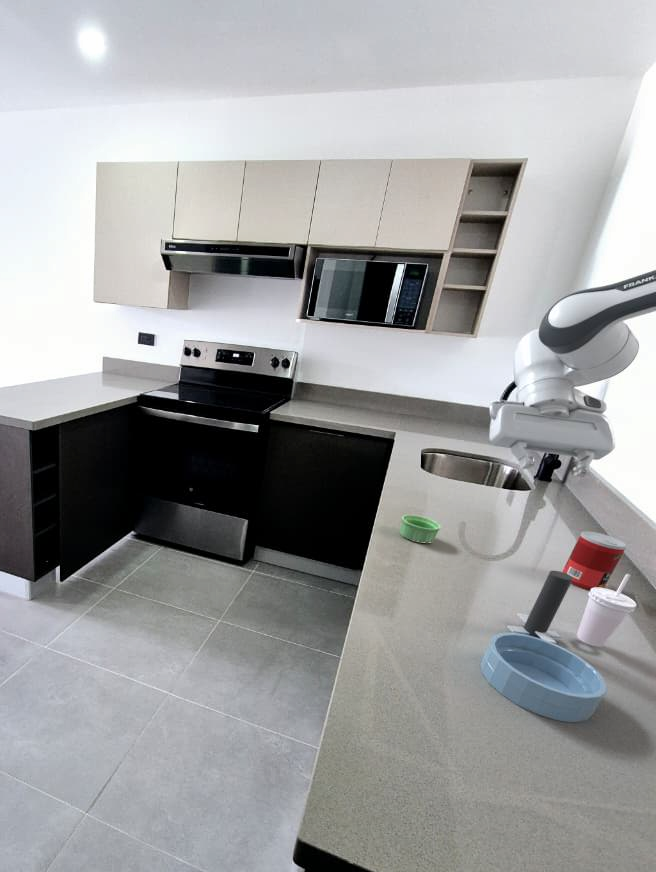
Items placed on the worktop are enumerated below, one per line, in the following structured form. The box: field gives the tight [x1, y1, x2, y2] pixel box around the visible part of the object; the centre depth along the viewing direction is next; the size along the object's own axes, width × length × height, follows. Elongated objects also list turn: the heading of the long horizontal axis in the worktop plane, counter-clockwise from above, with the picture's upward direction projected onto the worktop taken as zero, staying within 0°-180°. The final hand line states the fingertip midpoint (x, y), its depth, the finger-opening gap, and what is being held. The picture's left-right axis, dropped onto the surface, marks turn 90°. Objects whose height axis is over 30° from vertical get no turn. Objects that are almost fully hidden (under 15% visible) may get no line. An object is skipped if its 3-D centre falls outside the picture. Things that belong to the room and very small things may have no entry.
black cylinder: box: [506, 570, 573, 645], centre depth 85 cm, size 8×8×13 cm
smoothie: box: [576, 573, 637, 648], centre depth 86 cm, size 6×6×14 cm
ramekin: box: [399, 514, 442, 543], centre depth 125 cm, size 9×9×4 cm
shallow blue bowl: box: [479, 631, 608, 723], centre depth 74 cm, size 14×14×5 cm
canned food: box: [562, 530, 627, 591], centre depth 111 cm, size 8×8×11 cm
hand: (554, 471), depth 88 cm, fingers open, 8 cm apart
